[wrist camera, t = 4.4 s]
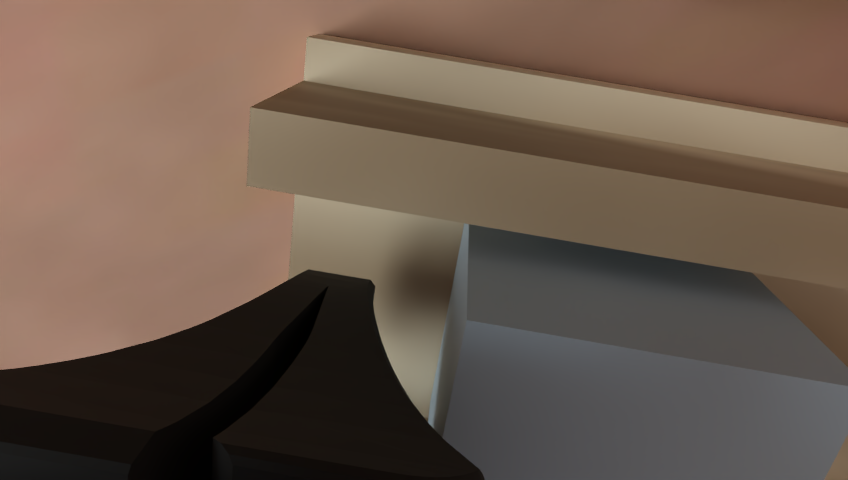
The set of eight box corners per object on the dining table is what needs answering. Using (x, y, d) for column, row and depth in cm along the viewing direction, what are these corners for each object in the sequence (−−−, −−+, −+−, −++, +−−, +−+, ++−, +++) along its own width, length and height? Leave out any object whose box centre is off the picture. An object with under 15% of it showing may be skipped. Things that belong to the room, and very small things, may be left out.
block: (645, 438, 14) (730, 658, 9) (430, 401, 14) (408, 601, 9) (718, 239, 12) (871, 390, 7) (469, 196, 12) (466, 319, 8)
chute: (1010, 559, 16) (1175, 732, 12) (286, 431, 16) (229, 562, 12) (1271, 193, 12) (1628, 282, 8) (320, 33, 12) (252, 50, 9)
